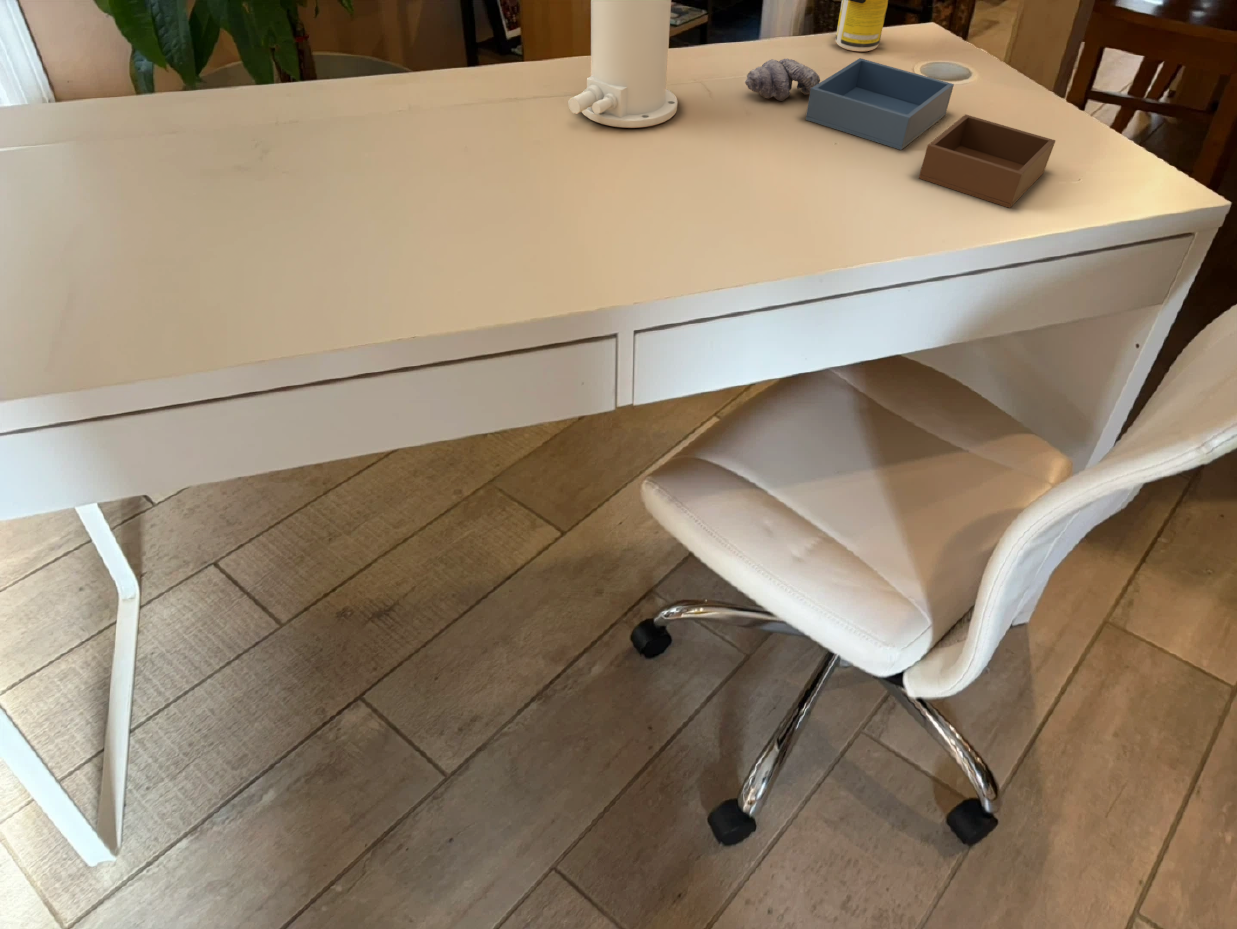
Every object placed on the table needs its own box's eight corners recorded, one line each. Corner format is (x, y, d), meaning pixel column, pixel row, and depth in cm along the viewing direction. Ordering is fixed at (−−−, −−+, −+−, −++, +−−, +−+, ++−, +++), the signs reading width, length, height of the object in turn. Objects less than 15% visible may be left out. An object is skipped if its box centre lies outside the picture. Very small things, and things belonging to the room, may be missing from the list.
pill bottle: (882, 53, 131) (901, -35, 123) (837, 52, 131) (854, -36, 123) (874, 37, 136) (892, -48, 128) (831, 36, 136) (846, -50, 128)
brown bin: (1009, 208, 99) (1022, 174, 96) (918, 178, 104) (927, 144, 101) (1043, 173, 105) (1055, 140, 103) (955, 146, 110) (965, 113, 107)
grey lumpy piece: (812, 101, 122) (741, 109, 120) (807, 60, 121) (736, 67, 119) (828, 89, 116) (755, 97, 115) (823, 46, 116) (749, 54, 114)
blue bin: (901, 150, 109) (909, 117, 106) (805, 119, 115) (810, 87, 112) (945, 115, 117) (954, 83, 114) (853, 88, 122) (859, 57, 119)
